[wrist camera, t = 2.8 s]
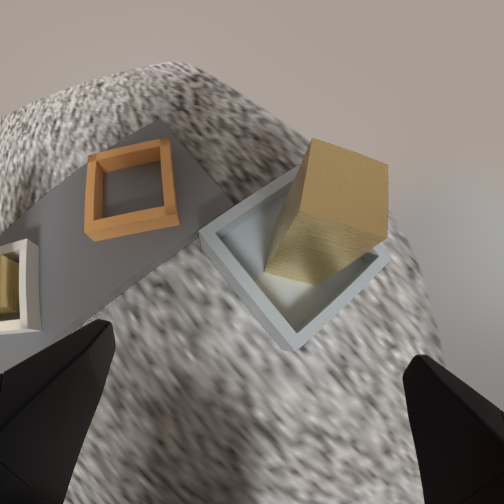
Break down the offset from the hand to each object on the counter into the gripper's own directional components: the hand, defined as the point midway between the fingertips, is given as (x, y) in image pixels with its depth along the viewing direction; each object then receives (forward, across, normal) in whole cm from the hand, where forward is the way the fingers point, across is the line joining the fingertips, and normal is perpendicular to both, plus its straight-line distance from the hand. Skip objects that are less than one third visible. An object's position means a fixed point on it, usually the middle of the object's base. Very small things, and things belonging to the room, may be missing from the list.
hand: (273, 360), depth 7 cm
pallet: (+15, +15, +5) cm, 21 cm away
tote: (+16, -3, +4) cm, 16 cm away
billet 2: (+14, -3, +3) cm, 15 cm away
